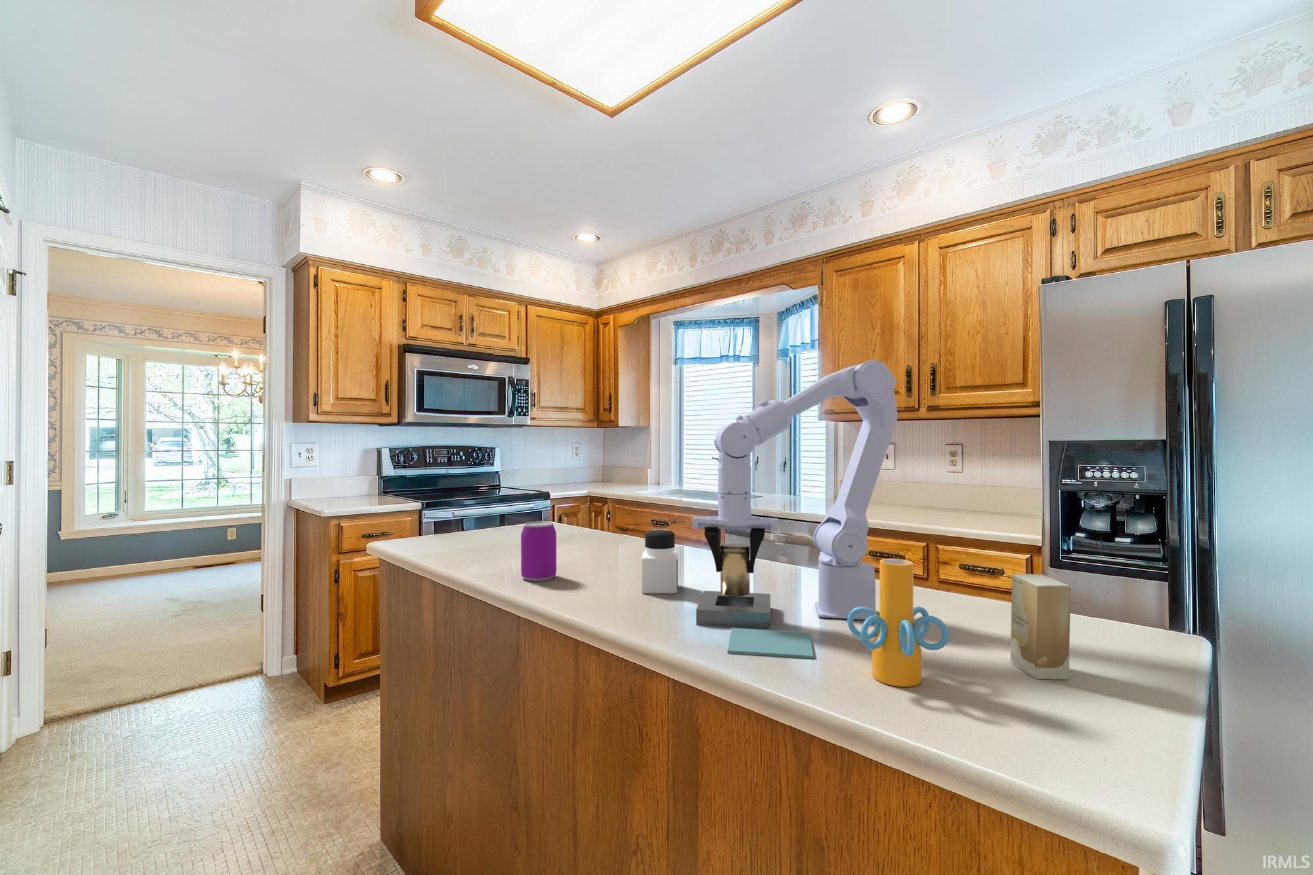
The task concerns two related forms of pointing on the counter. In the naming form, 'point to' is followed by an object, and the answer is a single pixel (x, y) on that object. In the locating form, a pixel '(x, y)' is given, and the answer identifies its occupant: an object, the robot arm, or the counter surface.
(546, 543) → the beverage can
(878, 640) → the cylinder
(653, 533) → the medicine bottle
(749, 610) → the housing
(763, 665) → the counter surface
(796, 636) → the mat
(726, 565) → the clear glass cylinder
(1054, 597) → the skincare box
